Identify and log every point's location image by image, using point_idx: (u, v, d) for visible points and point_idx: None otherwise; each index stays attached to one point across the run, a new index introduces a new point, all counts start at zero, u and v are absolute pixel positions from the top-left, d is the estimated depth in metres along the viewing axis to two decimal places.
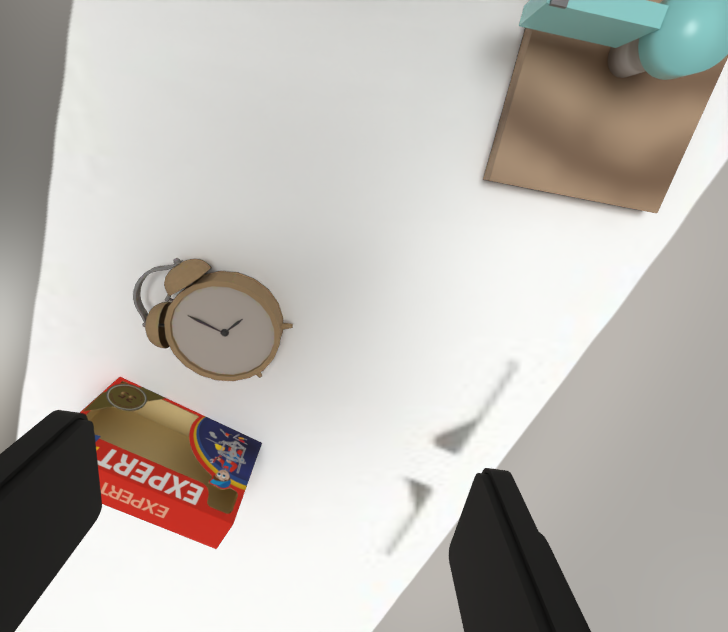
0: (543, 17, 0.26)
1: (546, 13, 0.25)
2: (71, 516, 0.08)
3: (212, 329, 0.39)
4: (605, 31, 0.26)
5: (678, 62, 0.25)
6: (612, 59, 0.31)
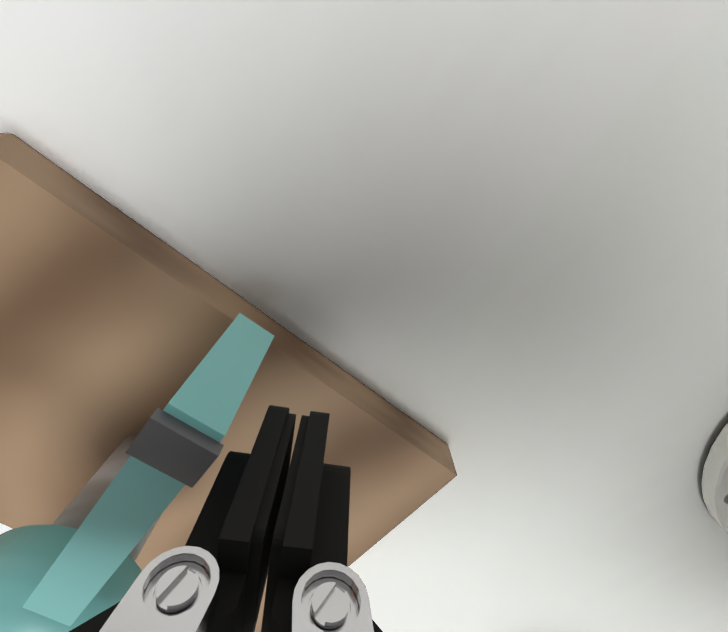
0: None
1: None
2: (282, 495, 0.10)
3: None
4: None
5: None
6: None
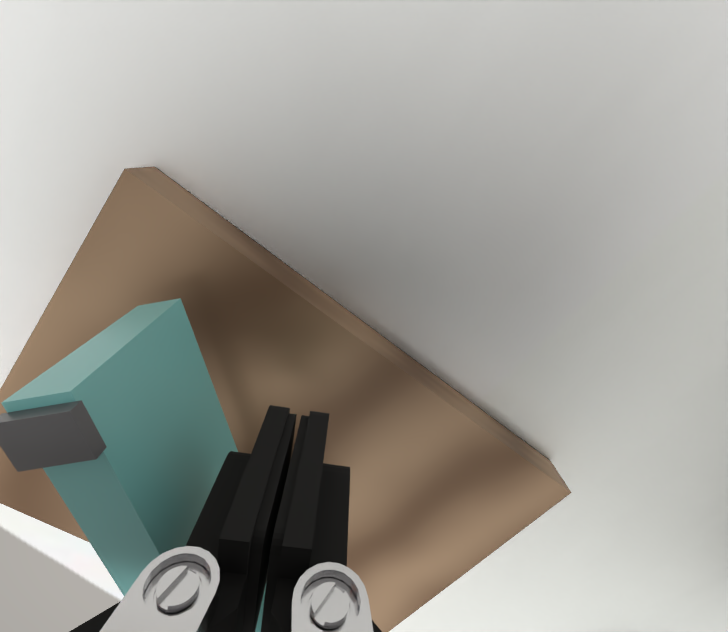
0: None
1: None
2: None
3: None
4: None
5: None
6: None
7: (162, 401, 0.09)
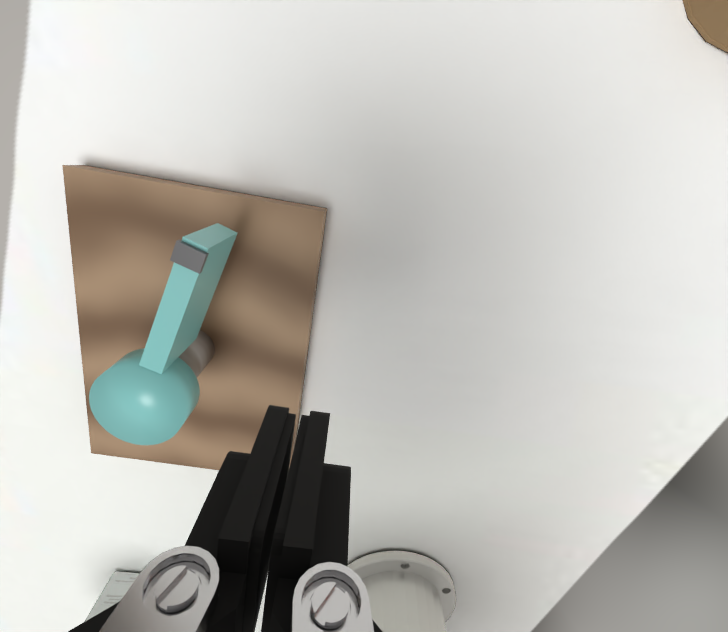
0: None
1: None
2: (282, 495, 0.10)
3: None
4: None
5: (101, 384, 0.20)
6: (209, 346, 0.27)
7: (212, 269, 0.20)
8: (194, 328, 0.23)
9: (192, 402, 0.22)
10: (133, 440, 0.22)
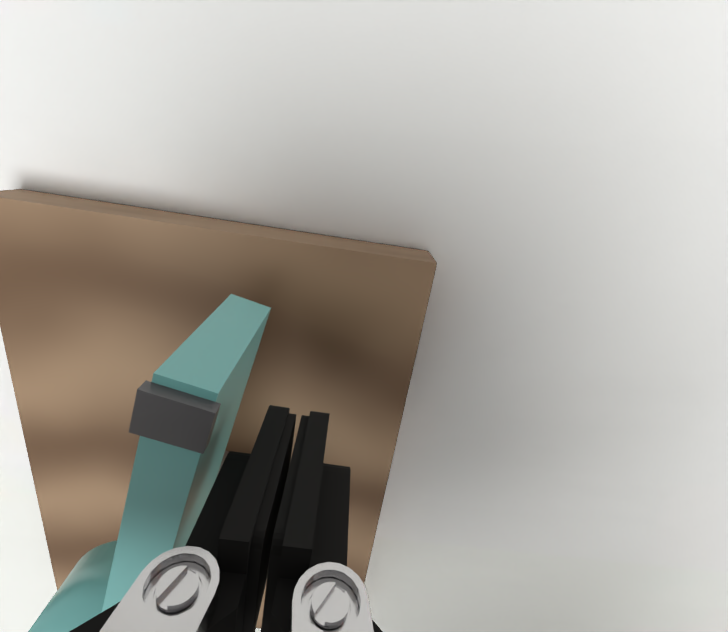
0: None
1: None
2: (283, 495, 0.10)
3: None
4: None
5: None
6: None
7: (231, 400, 0.10)
8: (207, 489, 0.12)
9: None
10: None
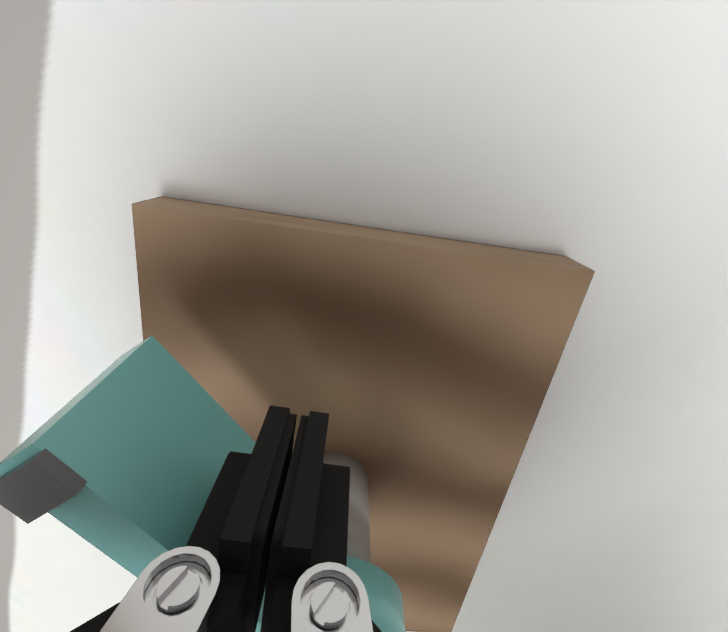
0: None
1: None
2: None
3: None
4: None
5: None
6: (367, 482, 0.17)
7: (152, 429, 0.10)
8: None
9: (378, 603, 0.11)
10: None
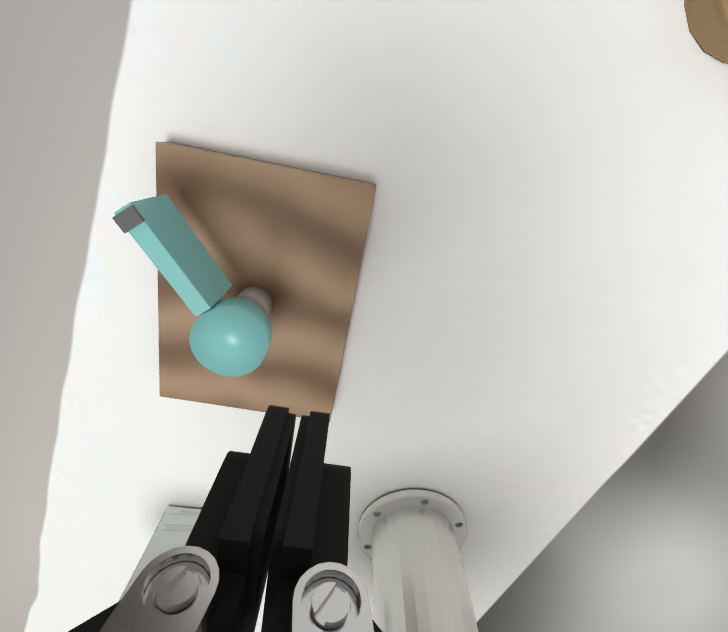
0: None
1: None
2: (282, 495, 0.10)
3: None
4: None
5: (197, 350, 0.26)
6: (271, 301, 0.32)
7: (166, 222, 0.24)
8: (213, 274, 0.27)
9: (255, 312, 0.26)
10: (252, 367, 0.26)
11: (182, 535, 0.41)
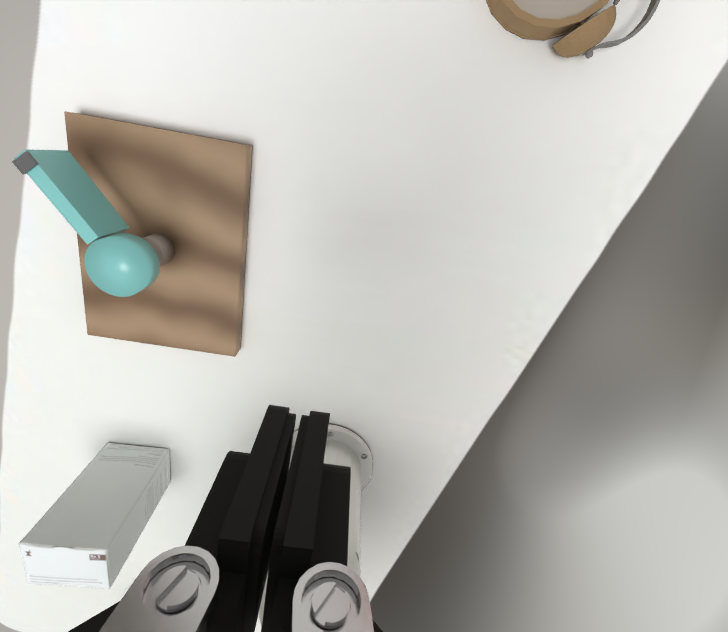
0: None
1: None
2: (282, 496, 0.10)
3: None
4: None
5: (92, 274, 0.32)
6: (170, 246, 0.38)
7: (62, 169, 0.31)
8: (108, 215, 0.33)
9: (139, 243, 0.32)
10: (138, 288, 0.33)
11: (115, 463, 0.47)
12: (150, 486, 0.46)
